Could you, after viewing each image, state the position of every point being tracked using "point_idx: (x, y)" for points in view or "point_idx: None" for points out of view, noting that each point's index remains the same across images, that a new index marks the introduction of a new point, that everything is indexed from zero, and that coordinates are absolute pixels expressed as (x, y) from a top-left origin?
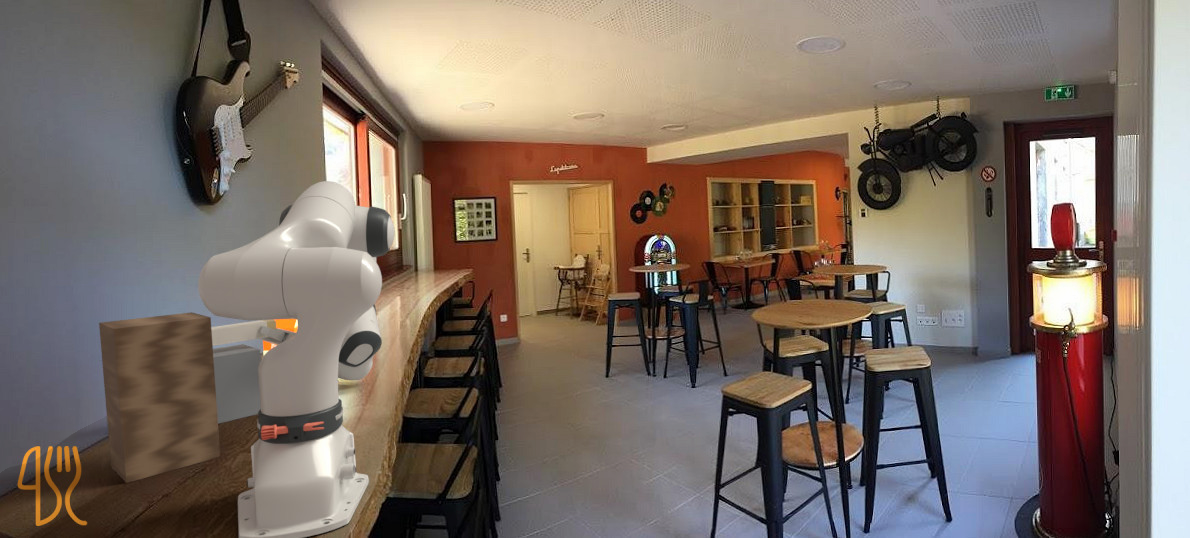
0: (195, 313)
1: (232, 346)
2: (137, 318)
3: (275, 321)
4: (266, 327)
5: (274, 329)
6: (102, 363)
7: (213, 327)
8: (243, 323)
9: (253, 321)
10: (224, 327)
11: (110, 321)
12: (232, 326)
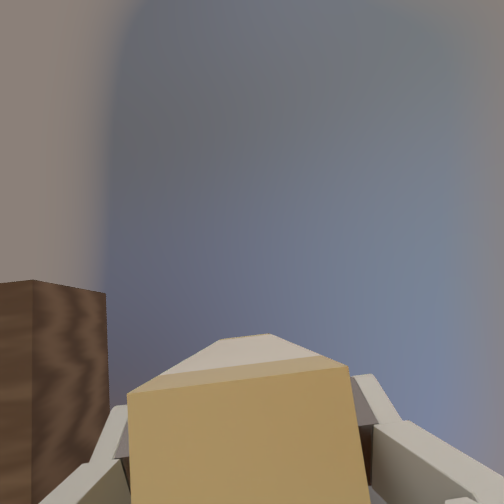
0: (3, 283)
1: (373, 494)
2: (83, 289)
3: (129, 408)
4: (107, 427)
5: (48, 495)
6: (107, 356)
7: (262, 339)
8: (258, 348)
9: (292, 351)
10: (216, 346)
11: (99, 292)
12: (208, 349)
